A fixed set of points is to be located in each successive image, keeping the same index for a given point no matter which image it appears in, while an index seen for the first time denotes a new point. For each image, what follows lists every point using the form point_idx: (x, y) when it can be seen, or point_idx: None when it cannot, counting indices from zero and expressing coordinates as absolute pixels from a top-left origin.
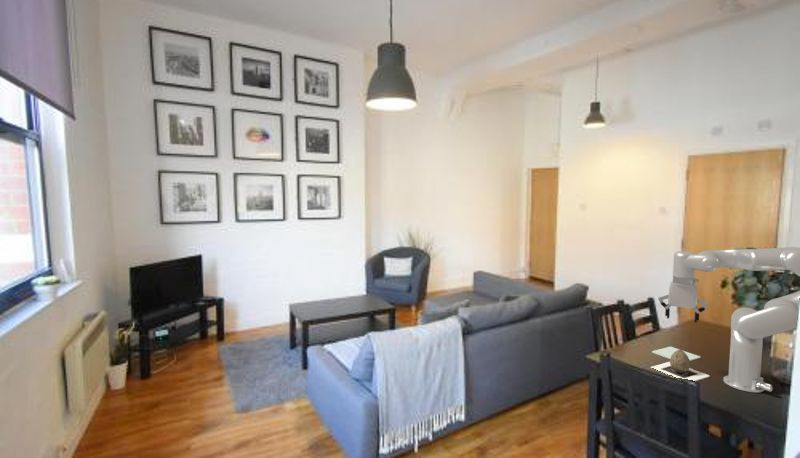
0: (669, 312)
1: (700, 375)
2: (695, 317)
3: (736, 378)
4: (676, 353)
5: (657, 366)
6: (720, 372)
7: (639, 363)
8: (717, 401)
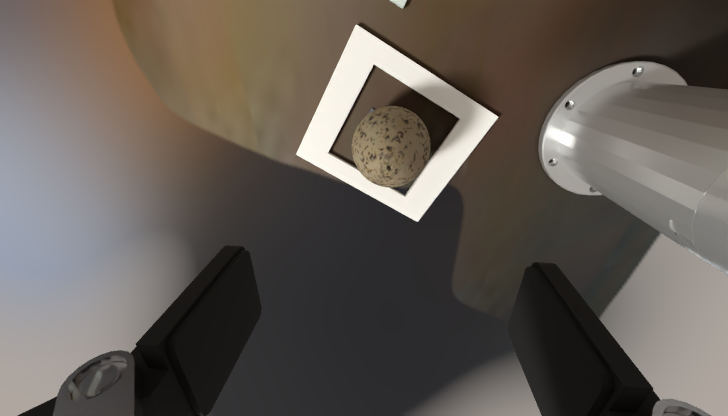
0: (219, 315)
1: (462, 136)
2: (539, 394)
3: (586, 183)
4: (373, 177)
5: (315, 134)
6: (559, 25)
7: (254, 128)
8: (476, 291)
